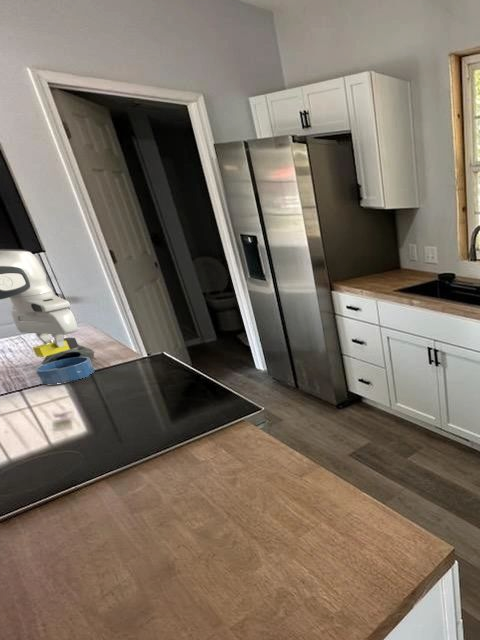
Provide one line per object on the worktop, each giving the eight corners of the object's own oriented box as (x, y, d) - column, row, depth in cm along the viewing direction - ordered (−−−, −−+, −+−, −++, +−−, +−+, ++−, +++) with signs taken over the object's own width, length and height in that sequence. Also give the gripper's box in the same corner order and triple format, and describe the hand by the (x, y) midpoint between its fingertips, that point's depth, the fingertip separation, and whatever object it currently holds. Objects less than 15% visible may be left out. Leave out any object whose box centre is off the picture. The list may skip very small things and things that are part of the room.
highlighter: (43, 357, 125) (39, 347, 124) (36, 356, 126) (32, 347, 125) (79, 346, 134) (75, 337, 132) (72, 346, 134) (67, 337, 133)
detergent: (99, 365, 142) (95, 348, 159) (89, 346, 139) (85, 330, 156) (46, 380, 134) (47, 360, 150) (34, 360, 131) (36, 342, 147)
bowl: (60, 387, 126) (53, 372, 124) (31, 384, 128) (24, 370, 127) (105, 371, 137) (99, 357, 135) (77, 369, 140) (71, 355, 138)
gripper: (-3, 305, 123) (18, 348, 128) (47, 306, 119) (67, 351, 124) (24, 300, 129) (44, 341, 134) (72, 301, 125) (91, 344, 130)
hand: (55, 346), depth 129 cm, fingers closed on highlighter, 3 cm apart
